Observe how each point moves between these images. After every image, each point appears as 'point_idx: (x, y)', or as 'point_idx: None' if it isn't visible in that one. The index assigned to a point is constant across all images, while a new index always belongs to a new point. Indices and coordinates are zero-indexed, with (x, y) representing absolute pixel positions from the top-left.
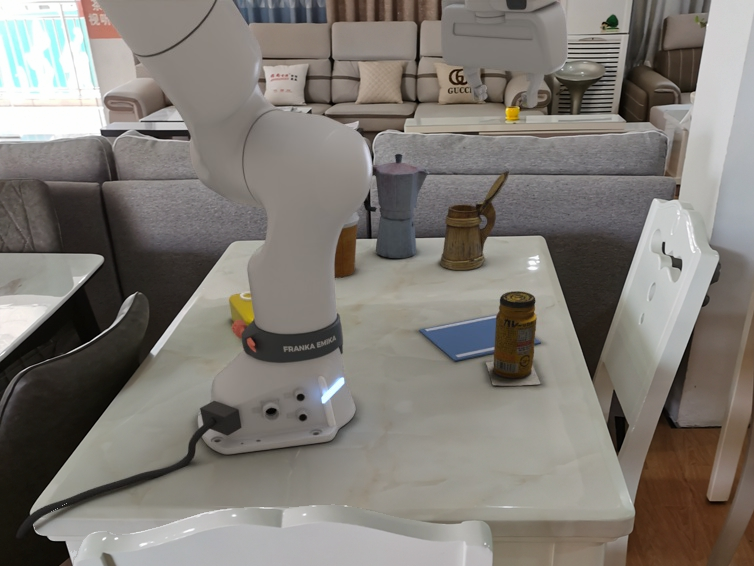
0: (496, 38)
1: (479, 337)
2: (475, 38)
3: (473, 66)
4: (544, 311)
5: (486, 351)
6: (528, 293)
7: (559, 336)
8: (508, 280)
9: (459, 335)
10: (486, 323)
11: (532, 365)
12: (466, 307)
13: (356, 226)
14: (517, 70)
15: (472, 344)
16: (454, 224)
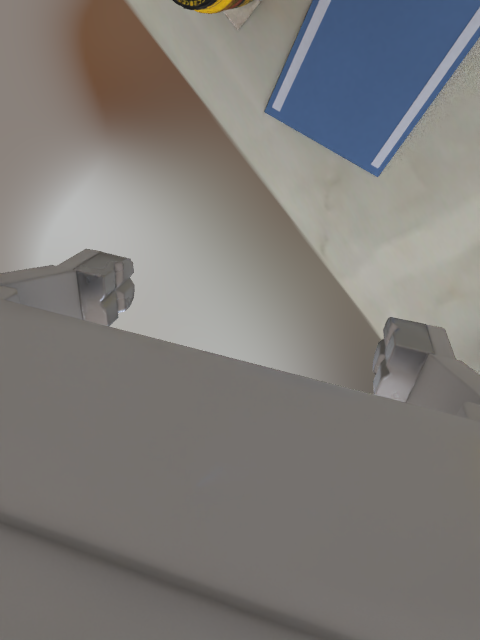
0: (15, 513)
1: (362, 58)
2: (363, 618)
3: (410, 405)
4: (322, 226)
5: (318, 3)
6: (186, 1)
7: (257, 154)
8: (428, 304)
9: (402, 39)
10: (380, 126)
11: (226, 14)
12: (451, 176)
13: None
14: (2, 300)
15: (358, 16)
16: None
